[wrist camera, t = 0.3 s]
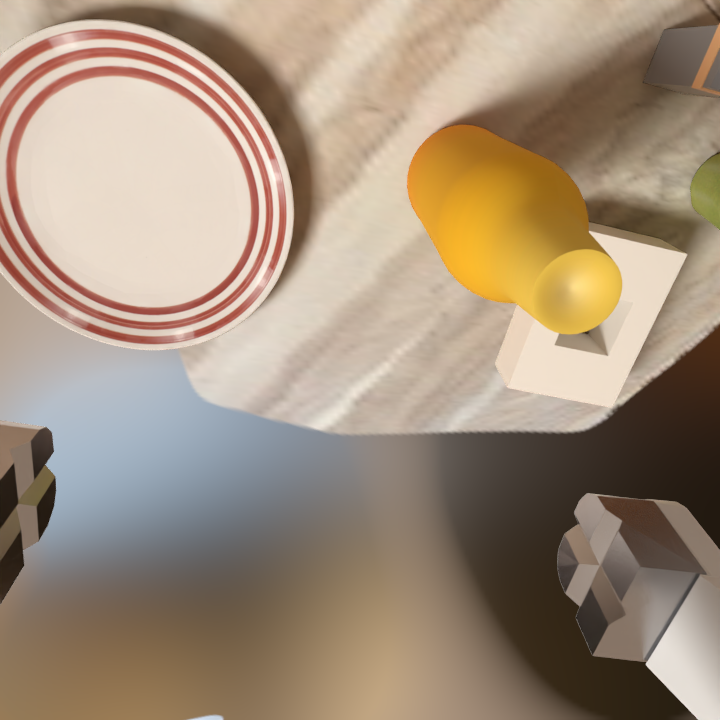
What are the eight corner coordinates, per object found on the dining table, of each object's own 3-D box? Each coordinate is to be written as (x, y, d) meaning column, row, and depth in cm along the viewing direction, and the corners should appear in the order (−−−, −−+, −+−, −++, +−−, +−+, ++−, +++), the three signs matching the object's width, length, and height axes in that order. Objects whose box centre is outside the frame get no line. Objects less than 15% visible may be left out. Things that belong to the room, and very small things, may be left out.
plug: (663, 27, 48) (738, 21, 39) (709, 41, 49) (793, 37, 40) (641, 83, 50) (708, 89, 41) (685, 95, 51) (761, 103, 42)
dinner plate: (286, 350, 60) (284, 365, 57) (3, 326, 58) (-15, 341, 55) (306, 45, 48) (305, 44, 45) (-53, -2, 45) (-79, -6, 42)
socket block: (551, 212, 55) (571, 226, 50) (659, 238, 56) (687, 254, 52) (494, 364, 62) (507, 387, 57) (592, 383, 63) (611, 407, 59)
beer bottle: (385, 198, 53) (437, 329, 28) (443, 101, 50) (563, 147, 24) (469, 247, 56) (588, 411, 30) (529, 158, 52) (722, 256, 27)
